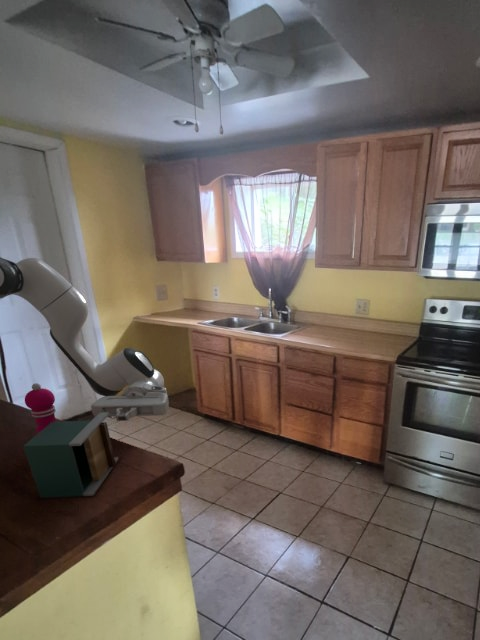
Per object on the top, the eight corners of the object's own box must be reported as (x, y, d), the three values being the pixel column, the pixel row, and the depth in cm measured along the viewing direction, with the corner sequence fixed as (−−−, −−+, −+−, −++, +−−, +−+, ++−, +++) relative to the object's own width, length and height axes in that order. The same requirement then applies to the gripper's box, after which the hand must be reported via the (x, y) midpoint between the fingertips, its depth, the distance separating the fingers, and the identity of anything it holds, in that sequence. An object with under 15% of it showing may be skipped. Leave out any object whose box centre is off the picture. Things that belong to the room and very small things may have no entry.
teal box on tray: (40, 497, 80) (22, 445, 75) (73, 460, 94) (61, 413, 89) (93, 495, 81) (79, 443, 76) (119, 458, 95) (108, 412, 89)
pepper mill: (68, 445, 100) (48, 376, 92) (76, 455, 96) (56, 383, 88) (36, 455, 96) (13, 383, 88) (43, 466, 91) (20, 391, 83)
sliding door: (92, 480, 84) (81, 437, 80) (105, 463, 91) (95, 422, 86) (104, 480, 85) (93, 436, 80) (115, 463, 91) (106, 422, 86)
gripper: (100, 388, 109) (78, 408, 96) (171, 387, 111) (158, 406, 98) (105, 408, 112) (83, 429, 99) (174, 406, 113) (162, 427, 100)
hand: (121, 418), depth 98 cm, fingers closed
